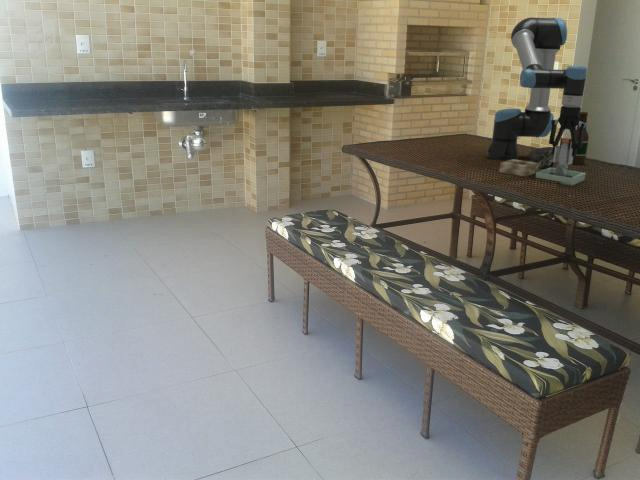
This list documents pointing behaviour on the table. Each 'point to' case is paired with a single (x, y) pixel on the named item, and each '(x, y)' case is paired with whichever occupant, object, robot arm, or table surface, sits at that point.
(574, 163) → the beer bottle
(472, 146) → the table surface
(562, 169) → the pin
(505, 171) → the block
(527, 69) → the robot arm
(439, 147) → the table surface
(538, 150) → the rock
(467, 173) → the table surface
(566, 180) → the tray
